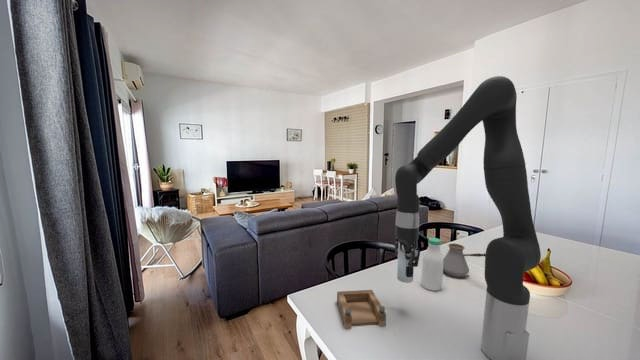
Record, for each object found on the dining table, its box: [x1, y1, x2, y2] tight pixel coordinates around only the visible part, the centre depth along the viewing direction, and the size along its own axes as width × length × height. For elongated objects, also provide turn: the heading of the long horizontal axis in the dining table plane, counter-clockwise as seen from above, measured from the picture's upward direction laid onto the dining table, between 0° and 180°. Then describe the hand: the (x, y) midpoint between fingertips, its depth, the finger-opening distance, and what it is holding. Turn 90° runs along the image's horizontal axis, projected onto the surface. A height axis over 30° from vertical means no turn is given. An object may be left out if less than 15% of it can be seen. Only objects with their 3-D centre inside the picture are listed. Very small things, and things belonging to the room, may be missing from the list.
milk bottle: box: [420, 237, 444, 292], centre depth 104 cm, size 8×8×20 cm
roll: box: [396, 249, 415, 284], centre depth 88 cm, size 5×5×10 cm
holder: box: [336, 289, 387, 329], centre depth 87 cm, size 14×13×6 cm
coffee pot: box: [443, 243, 486, 278], centre depth 111 cm, size 21×12×15 cm, turn 22°
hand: (405, 272), depth 88 cm, fingers closed on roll, 5 cm apart
